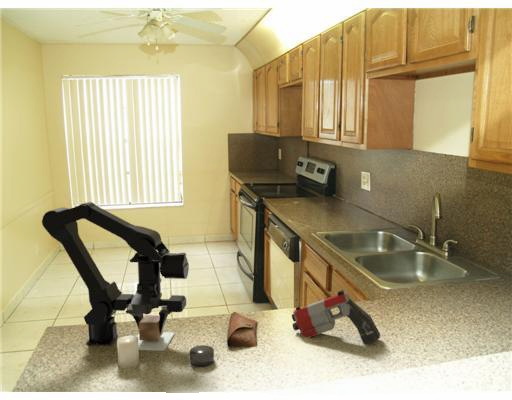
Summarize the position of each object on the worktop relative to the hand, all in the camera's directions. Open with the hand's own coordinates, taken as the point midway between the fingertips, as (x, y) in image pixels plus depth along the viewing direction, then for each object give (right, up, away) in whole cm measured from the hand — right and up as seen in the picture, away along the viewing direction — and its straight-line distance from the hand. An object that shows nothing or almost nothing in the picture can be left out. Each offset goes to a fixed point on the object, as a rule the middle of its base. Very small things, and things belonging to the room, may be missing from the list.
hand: (151, 332), depth 122 cm
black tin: (+15, -4, -11) cm, 19 cm away
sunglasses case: (+25, -2, +6) cm, 26 cm away
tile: (0, -3, 0) cm, 3 cm away
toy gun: (+51, -2, +3) cm, 51 cm away
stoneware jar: (-3, -4, -11) cm, 12 cm away
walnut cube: (0, -1, 0) cm, 1 cm away
